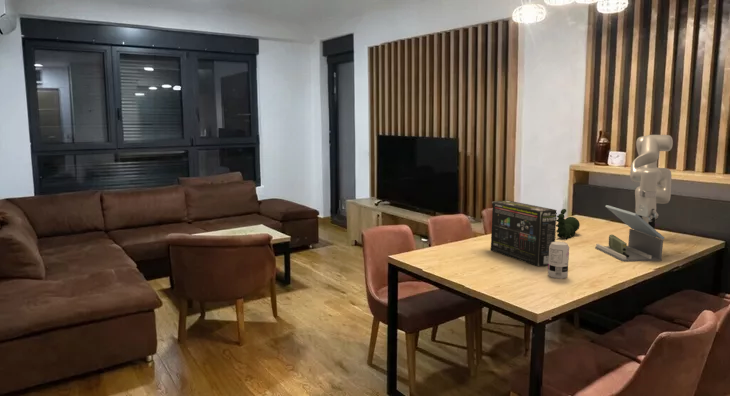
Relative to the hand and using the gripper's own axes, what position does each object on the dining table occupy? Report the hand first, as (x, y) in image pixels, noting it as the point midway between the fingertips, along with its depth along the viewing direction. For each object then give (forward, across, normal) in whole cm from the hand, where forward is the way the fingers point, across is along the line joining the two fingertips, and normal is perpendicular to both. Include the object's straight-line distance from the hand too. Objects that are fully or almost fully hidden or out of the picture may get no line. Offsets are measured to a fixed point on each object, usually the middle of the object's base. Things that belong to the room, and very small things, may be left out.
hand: (645, 227), depth 262 cm
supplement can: (+13, +32, -62) cm, 71 cm away
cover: (-3, 0, -7) cm, 7 cm away
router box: (+14, -1, -65) cm, 67 cm away
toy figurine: (+15, -42, -19) cm, 49 cm away
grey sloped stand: (+14, 0, -9) cm, 17 cm away
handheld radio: (+13, 0, -13) cm, 18 cm away
